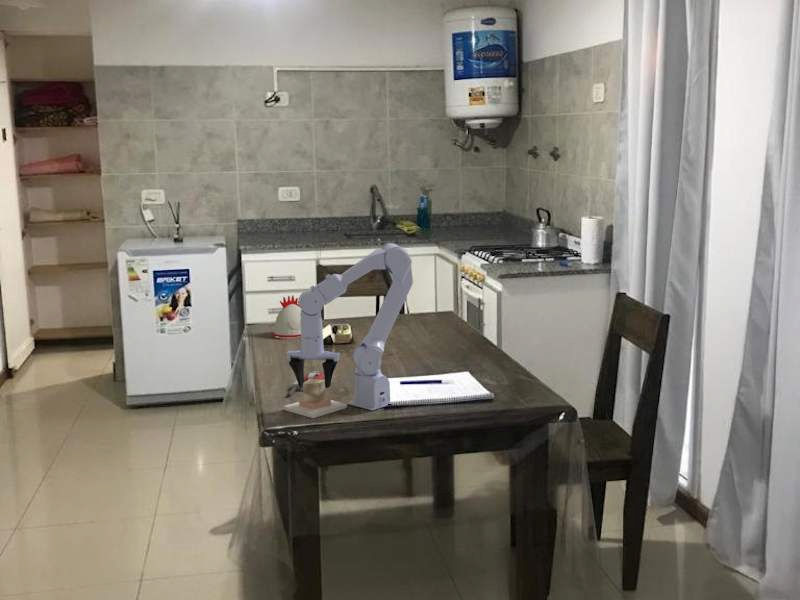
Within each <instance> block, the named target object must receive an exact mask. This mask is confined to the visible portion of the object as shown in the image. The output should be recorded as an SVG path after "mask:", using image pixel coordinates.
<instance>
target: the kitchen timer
mask: <svg viewBox="0 0 800 600" xmlns="http://www.w3.org/2000/svg"><path fill="white" fill-rule="evenodd" d="M282 300H283V301H281V300H279V303H280V305H281V307H282V309H281V310H280V311H279V312H278V314H277V316H276V319H275V323H274V327H273V336H274V335H275V336H279V337H297V336H301V323H300V320H301V316H300V313H301V310H302V309H301V308H300V307H299V305H298V301H299V297H296V298H295V296H294V295H291V297H290V295H288V296H287V300H286V297H285V296H283V298H282Z"/></svg>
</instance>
